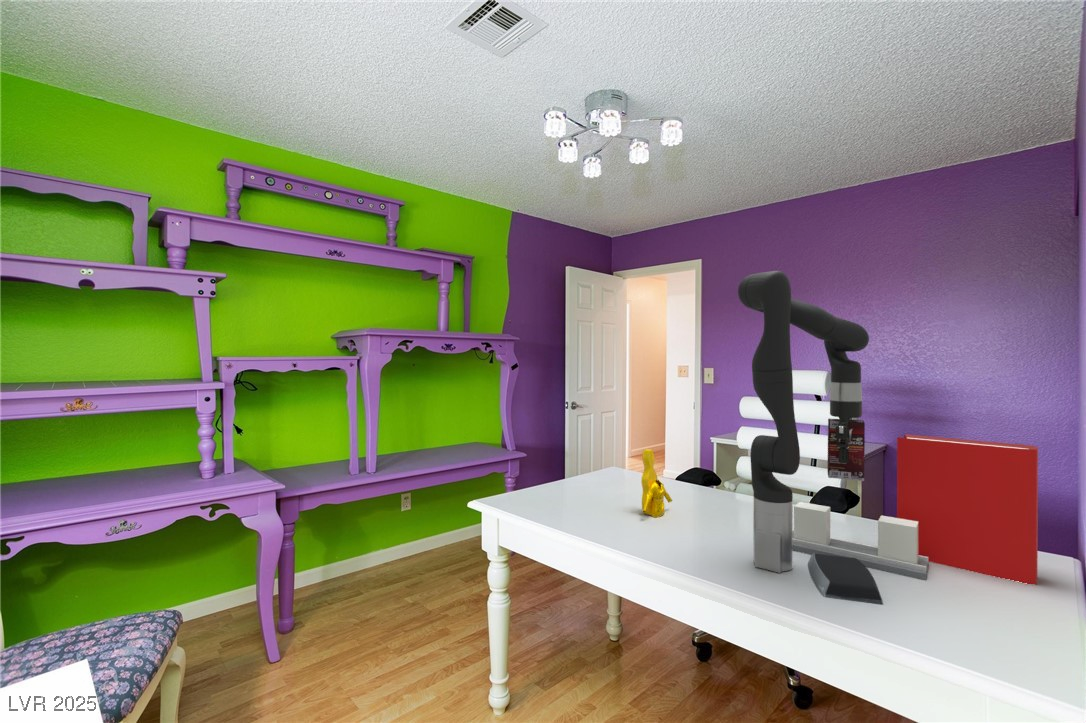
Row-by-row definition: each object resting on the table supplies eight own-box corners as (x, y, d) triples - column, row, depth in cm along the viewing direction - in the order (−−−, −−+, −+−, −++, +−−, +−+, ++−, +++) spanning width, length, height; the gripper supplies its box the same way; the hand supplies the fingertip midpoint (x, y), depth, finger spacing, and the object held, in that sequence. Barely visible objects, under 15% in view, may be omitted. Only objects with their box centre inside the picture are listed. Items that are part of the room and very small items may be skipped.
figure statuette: (649, 522, 165) (649, 455, 165) (629, 517, 171) (629, 452, 170) (676, 510, 178) (677, 448, 178) (657, 506, 183) (657, 445, 183)
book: (896, 554, 139) (897, 437, 138) (903, 546, 144) (903, 434, 144) (1036, 586, 119) (1036, 450, 119) (1037, 576, 124) (1038, 446, 124)
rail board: (925, 580, 122) (925, 532, 122) (783, 548, 143) (783, 507, 143) (928, 564, 131) (928, 520, 131) (794, 536, 152) (794, 498, 152)
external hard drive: (819, 598, 114) (819, 580, 114) (804, 565, 132) (804, 549, 132) (887, 607, 110) (887, 588, 110) (862, 571, 128) (862, 555, 128)
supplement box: (827, 478, 138) (827, 420, 138) (827, 474, 142) (827, 418, 142) (865, 481, 134) (865, 421, 134) (863, 477, 138) (863, 419, 138)
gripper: (857, 401, 130) (857, 467, 130) (865, 398, 141) (865, 458, 141) (824, 400, 135) (824, 463, 135) (835, 396, 146) (834, 455, 146)
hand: (845, 460), depth 138 cm, fingers closed on supplement box, 5 cm apart
